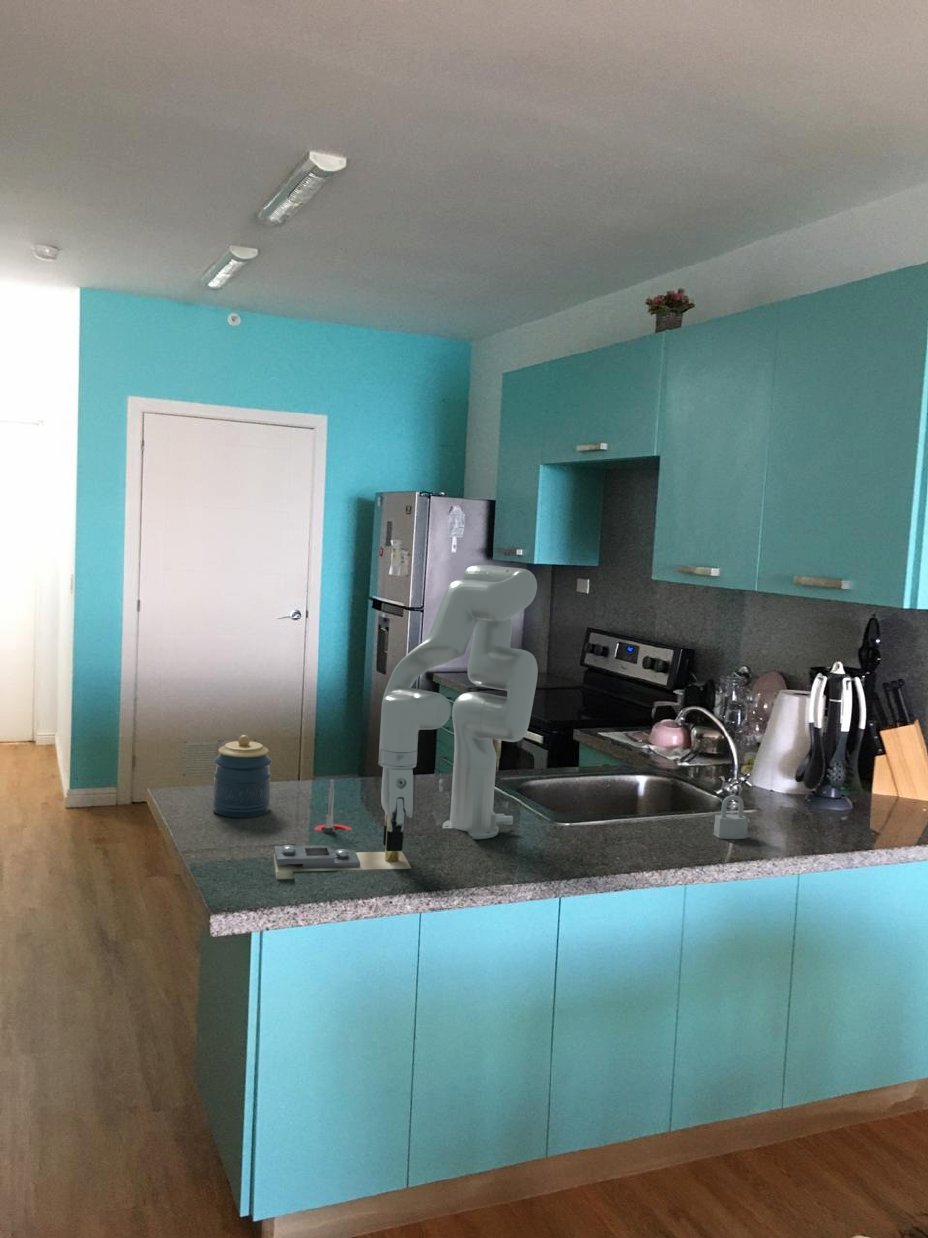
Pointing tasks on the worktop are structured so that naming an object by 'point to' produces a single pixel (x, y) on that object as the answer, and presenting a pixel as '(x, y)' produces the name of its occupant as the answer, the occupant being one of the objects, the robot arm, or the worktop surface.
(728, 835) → the padlock
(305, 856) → the riveted slotted plate
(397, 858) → the pin
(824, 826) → the worktop surface
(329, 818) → the tow hook
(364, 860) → the jig board
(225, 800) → the canister
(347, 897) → the worktop surface
